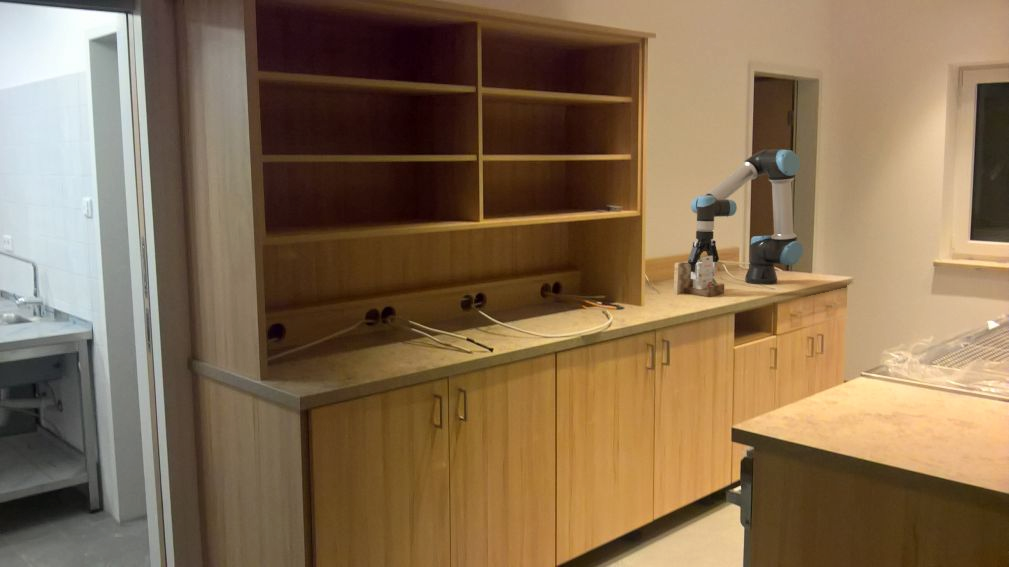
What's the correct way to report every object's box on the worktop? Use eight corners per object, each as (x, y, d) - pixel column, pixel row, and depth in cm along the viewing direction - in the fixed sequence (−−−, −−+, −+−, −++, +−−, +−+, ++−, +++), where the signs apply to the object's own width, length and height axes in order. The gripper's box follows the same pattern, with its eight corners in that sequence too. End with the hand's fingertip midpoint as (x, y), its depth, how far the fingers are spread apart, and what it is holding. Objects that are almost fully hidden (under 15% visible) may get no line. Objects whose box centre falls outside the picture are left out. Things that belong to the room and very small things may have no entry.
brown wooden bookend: (702, 289, 394) (703, 259, 391) (730, 293, 383) (731, 262, 380) (673, 293, 379) (674, 262, 377) (701, 298, 368) (702, 266, 366)
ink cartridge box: (703, 286, 385) (704, 254, 383) (712, 287, 381) (713, 255, 379) (691, 288, 379) (693, 255, 377) (701, 289, 376) (702, 256, 373)
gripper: (714, 228, 387) (711, 274, 391) (680, 231, 371) (678, 279, 374) (728, 229, 382) (725, 276, 385) (695, 232, 365) (693, 281, 369)
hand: (702, 277), depth 380 cm, fingers open, 13 cm apart
